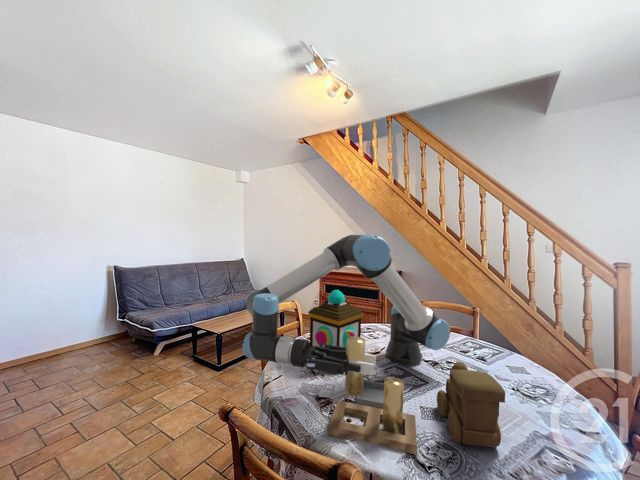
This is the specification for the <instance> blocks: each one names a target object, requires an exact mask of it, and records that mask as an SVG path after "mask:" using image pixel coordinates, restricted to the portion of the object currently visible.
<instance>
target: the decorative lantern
mask: <svg viewBox="0 0 640 480" xmlns="http://www.w3.org/2000/svg"><path fill="white" fill-rule="evenodd" d="M307 313H308V314H307V315H308V316H309V319H310V320H309V321H310V324H309V343H310V345H311V346H320V344H321V343H324V344H327V345H333V346H340V347H347V338H348V337H352V336H356V337H362V336H361V334H362V332H361V331H362V330H361V329H362V328H361V327H362V318H363V316H364V314H365V313H364V312H363V310H360V308H359V307H355V306H353V305H351V303H349V302H348V301H346V297H345V294H344V293H343V292H342V291H340V290H339V289H334V290H332V291H331V292H330V293H329V294H328V298H327V300H325V301H324V302H323V303H321V304H320V305H318V306H314V307H312V308H311V309H310V310H309V311H307ZM326 355H327V354H326ZM345 361H346V360H345Z"/></svg>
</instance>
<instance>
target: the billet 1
mask: <svg viewBox="0 0 640 480" xmlns="http://www.w3.org/2000/svg"><path fill="white" fill-rule="evenodd" d="M365 354H366V339H365V338H364V337H362V336H360V337H356V336H352V337H348V338H347V349H346V361H348V363H349V360H353V361H360V362H364V360H365ZM344 376H345V378H344V379H345V380H344V382H345V383H344V391H345V393H346V394H347V395H350V396H355V397H357V395H361V394H362V393H363V386H364V380H365V379H364V378H365V374H362V373H356V372H351V371H348V375H344Z"/></svg>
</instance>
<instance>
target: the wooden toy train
mask: <svg viewBox="0 0 640 480" xmlns="http://www.w3.org/2000/svg"><path fill="white" fill-rule="evenodd" d="M500 403H506V390H505V389H504V388H503V387H502V385H501V384H500V383H499V382H498V381H497V379H495V378H494V377H493V376H491V374H489V373H488V372H486V371H485V372H484V371H478V370H471V369H470V370H469V369H468V367H467V366H466V364H465V363H464V362H462V361H456V362H454V364H453V365H452V366H451V368H450V369H449V378H447V379H446V381H445V391H444V390H442V389H440V390H438V392H437V395H436V404H437V405H436V406H437V409H438V413H439V414H440V416H441V417H443V418H447V425H448V433H449V435H451V436H450V438H451V437H452V438H451V440H452V439H453V440H454V441H453V440H452V441H453V442H455V443H457V444H459V443H461V442H463V444H464V445H472V446H480V447H481V446H482V447H489V448H497V446H498V447H499V446H500V445H501V442H502V433H501V429H500V426H499V423H498V421H499V413H500Z"/></svg>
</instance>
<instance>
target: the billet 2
mask: <svg viewBox="0 0 640 480" xmlns="http://www.w3.org/2000/svg"><path fill="white" fill-rule="evenodd" d="M383 383H384V400H383V422H382V428H381V430H382V431H387V432H391V433H396V434H400V435H403V426H402V418H403V413H404V412H403V411H404V391H405V389H404V385H405V384H404V383H405V382H404V380H402V379H401V378H398V377H395V376H388V377H385V378H384V380H383Z"/></svg>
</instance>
